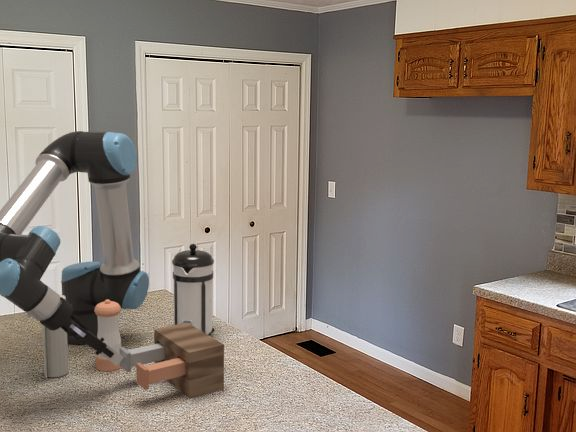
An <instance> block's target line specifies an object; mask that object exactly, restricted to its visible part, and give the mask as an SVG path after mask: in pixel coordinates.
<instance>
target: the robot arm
mask: <svg viewBox="0 0 576 432" xmlns="http://www.w3.org/2000/svg"><path fill="white" fill-rule="evenodd" d="M137 159H138V157H137V151H136V147H135V145H134V143H133V141H132V140H131V138H129V136H128V135H127V134H124V133H121V132H112V131H80V130H79V131H70V132H68V133H66V134H64V135H61V136H59V137H58V138H56V139H55V140H53V141H51V143H49V144H48V145H47V146H46V147H45V148H44V149H43V150H42V151H41V152H40V153H39V155H38V156H37V157H36V159H35V166H34V167H33V169H32V170H31V171H30V173H29V174H28V175H27V176H26V177H25V179H24V180H23V181H22V182H21V184H20V185H19V186H18V188H17V189H16V190H15V191H14V193H13V194H12V195H11V196H10V198H9V199H8V200H7V201H6V202H5V204H4V205H3V206H2V208H0V296H1V297H2V298H5V299H6V300H8V301H9V302H11V303H12V304H14V305H15V306H16V307H18V308H19V309H21V310H22V311H23V312H25V313H26V315H25V317H27V318H29V319H30V318H33V319H35V320H36V321H37V322H38V321H39V323H40V325H41V326H42V325H44V326H45V327H46V328H48V329H49V330H52V331H54V330H57V329H59V328H60V327H61V328H62V329H63V330H64V331H65V332H66V333H67V343H68V344H70V345H85V344H86V345H87V346H89V347H90V348H92V350H94V351H95V355H96V354H97V355H99V353H100V354H101V355H103V356H104V357H105V358H107V359H108V360H109V361H111V362H112V363H113V364H115V365H116V366H117V365H118V364H119V363H120V362H121V360H122V359H123V358H124V357H123V356H122V355H120V354H119V353H118V352H116V351H115V350H114V349H112V348H111V347H110V346H108V345H107V344H106V343H104V342H103V341H104V340H105V339H103V338H101V339H98V337H97V333H98V316H97V315H96V314H95V311H94V310H95V307H96V305H97V304H99V303H101V302H104V301H105V300H110V301H113V302H116V303H118V304H119V305H120V307H121V310H136V309H138V308H141V306H142V305H143V304H144V302H145V300H146V297H147V295H148V292H149V289H150V277H149V274H148V273H147V272H146V271H144V270H142V271H141V266H140V262H139V260H137V259H135V256H134V247H133V239H132V229H131V222H130V213H129V204H128V203H129V202H128V194H127V182H129V180H130V179H131V174H133V173H134V172H135V170H136V167H137V162H138V161H137ZM75 173H85V174H87V180H88V183H89V184H91V185H92V186H93V187H94V191H95V192H94V193H95V199H96V206H97V214H98V215H97V216H98V221H99V224H98V225H99V230H100V231H99V232H100V237H101V246H102V253H103V254H102V255H103V263H102V264H101V262H100V261H98V260H97V261H94V260H93V261H92V260H91V261H83V262H82V261H81V262H78V263H77V262H76V263H73V264H70V265H67V266H65V267H63V269H62V270H61V281H60V283H61V295H64V296H65V297H66V300H65V299H64V298H62V297H60V296H59V295H60V294H59V293H57V292H56V291H55V290H54V289H52V288H51V287H50V286H48V285H47V284H46V283H44V282H43V281H41V280H42V277H43V276H44V274H45V273H46V271H47V269H48V267H49V265H50V264H51V263H52V260H53V259H54V257H56V255H57V251H58V249H59V247H60V245H61V238H60V236H59V234H58V233H57V232H56V231H55V230H53V229H52V228H50V227H48V226H44V225H38V226H35V227H33V228H32V229H31V230H30V231H28V234H23V232H24V231H25V230H27V228H28V226H29V225H30V223H31V222H32V221H33V219H34V218H35V217H36V215H37V213H39V211H40V209H42V207H43V206H44V204H45V203H46V202H47V200H48V199H49V198H50V196H51V195H52V193H53V192H54V190H55V189H56V188H57V186H58V185H59V184H60V182H64V181H66V180H67V179H68V177H69V176H70V175H72V174H75Z"/></svg>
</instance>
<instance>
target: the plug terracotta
mask: <svg viewBox="0 0 576 432" xmlns="http://www.w3.org/2000/svg"><path fill="white" fill-rule="evenodd" d="M135 368H136V369H135V370H136V371H135V372H136V374H135V375H136V376H135V377H136V379H135V380H136V383H137V385H138V386H140V387H141V388H142V390H145V391H147V390H149V389H150V385H152V384H156V383H159V382H163V381H167V380H168V379H172V378H176V377H180V376H183V375H186V361H185V360H184V359H182V358H181V357H180V358H176V359H172V360H168V361H163V362H159V363H155V362H154V363H152V364H151V363H150V364H148V365H145V364H143V365H142V364H141V363H136V366H135Z"/></svg>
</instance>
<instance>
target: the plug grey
mask: <svg viewBox="0 0 576 432" xmlns="http://www.w3.org/2000/svg"><path fill="white" fill-rule="evenodd" d="M119 351H120V355H122V356H123V357H124V358H123V359H122V360H121V362H120V366H121V369H123V370H124V371H125V372H126V373H130V372H132V368H134V367H136V363H141V364H142V365H145V364H151V363H155V361H160V360H164V359H165V346H164V345H163V344H161V343H158V344H154V343H153V344H149V345H145V346H140V347H136V348H131V349H127V348H125V347H124V346H121V347H120V348H119Z"/></svg>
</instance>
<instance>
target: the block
mask: <svg viewBox="0 0 576 432" xmlns="http://www.w3.org/2000/svg"><path fill="white" fill-rule="evenodd" d="M153 338H154V340H153V341H154V342H153V344H158V343H161V344H163V345H164V346H165V359H164V360H160V361H155V362H154V364H155V363H159V362H163V361H168V360H172V359H176V358H180V357H181V358H182V359H184V360H185V361H186V375H183V376H180V377H176V378H172V379H168V380H166V381H167V382H168V383H169V384H170V385H172V386H173V387H174V388H175V389H177V390H178V391H180V392H181V393H182V394H183V395H184V396H185V397H187V398H188V399H192V398H196V397H199V396H203V395H207V394H209V393H213V392H214V393H215V392H217V391H221V390H224V389H225V344H224V343H223V342H221V341H219V340H217V339H216V338H214V337H212V336H210V335H209V334H208V335H207V334H206V333H204V332H202V331H201V330H199V329H197V328H196V327H194V326H192V325H191V324H189V323H182V324H177V325H174V324H173V325H168V326H163V327H159V328H154V329H153Z"/></svg>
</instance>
